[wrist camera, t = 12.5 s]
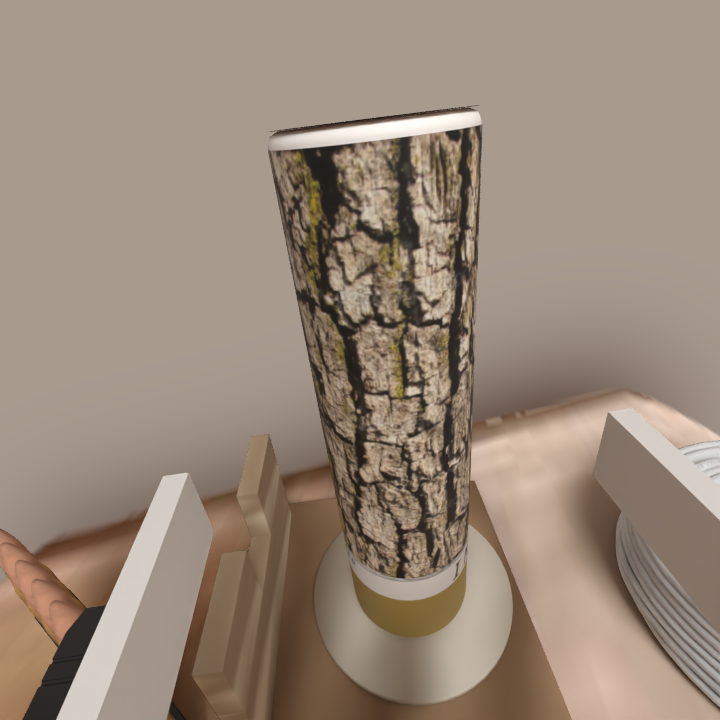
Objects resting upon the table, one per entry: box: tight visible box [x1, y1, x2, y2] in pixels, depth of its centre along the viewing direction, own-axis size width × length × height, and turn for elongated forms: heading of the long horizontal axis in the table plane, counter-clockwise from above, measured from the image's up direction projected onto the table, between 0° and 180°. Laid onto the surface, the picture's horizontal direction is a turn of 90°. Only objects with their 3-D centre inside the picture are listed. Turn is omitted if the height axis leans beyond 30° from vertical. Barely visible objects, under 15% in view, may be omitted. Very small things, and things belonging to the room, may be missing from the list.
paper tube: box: [268, 106, 482, 637], centre depth 19 cm, size 7×7×25 cm
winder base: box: [191, 434, 572, 720], centre depth 24 cm, size 16×16×9 cm
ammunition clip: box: [0, 529, 186, 720], centre depth 20 cm, size 11×2×12 cm, turn 56°
